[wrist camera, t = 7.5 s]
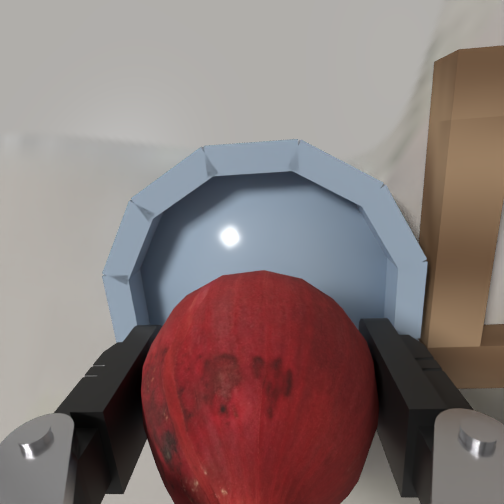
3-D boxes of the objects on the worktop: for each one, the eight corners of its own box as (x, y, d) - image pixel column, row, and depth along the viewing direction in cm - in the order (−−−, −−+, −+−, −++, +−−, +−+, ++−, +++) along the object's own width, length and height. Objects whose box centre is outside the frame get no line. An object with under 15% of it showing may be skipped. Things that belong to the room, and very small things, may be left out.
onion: (157, 334, 13) (-12, 615, 5) (233, 206, 11) (149, 343, 3) (286, 403, 13) (304, 744, 6) (376, 293, 12) (568, 568, 4)
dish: (103, 153, 13) (75, 155, 11) (414, 131, 12) (440, 128, 10) (151, 399, 17) (136, 431, 15) (394, 396, 16) (411, 430, 14)
